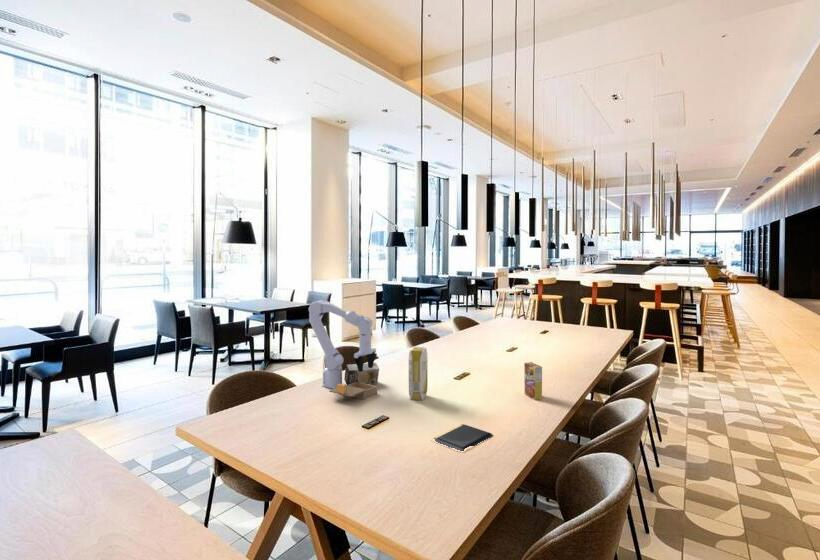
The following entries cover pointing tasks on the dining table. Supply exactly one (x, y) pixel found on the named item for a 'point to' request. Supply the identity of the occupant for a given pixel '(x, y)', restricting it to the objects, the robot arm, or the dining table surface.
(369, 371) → the coffee box
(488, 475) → the dining table surface
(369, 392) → the carton
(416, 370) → the juice carton
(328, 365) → the robot arm
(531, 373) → the candy box
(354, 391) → the lid
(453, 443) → the wallet
